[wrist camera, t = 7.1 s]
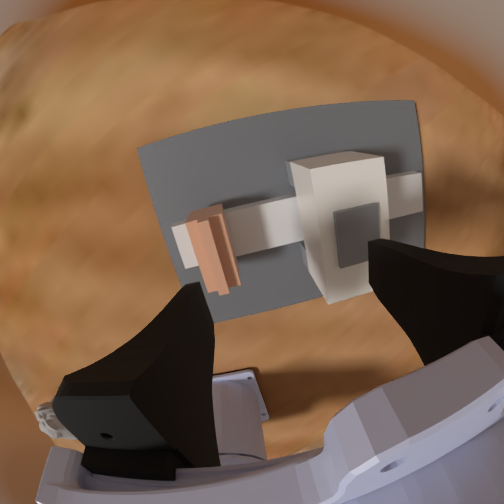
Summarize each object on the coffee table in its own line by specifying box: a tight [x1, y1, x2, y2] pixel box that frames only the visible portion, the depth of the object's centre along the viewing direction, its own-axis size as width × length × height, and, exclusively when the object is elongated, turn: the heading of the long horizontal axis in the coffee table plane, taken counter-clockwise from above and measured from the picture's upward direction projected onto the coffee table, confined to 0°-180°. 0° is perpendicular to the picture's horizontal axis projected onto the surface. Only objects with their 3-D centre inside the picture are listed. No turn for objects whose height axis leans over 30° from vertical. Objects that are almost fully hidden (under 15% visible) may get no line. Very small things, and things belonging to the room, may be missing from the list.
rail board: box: [137, 100, 425, 323], centre depth 19 cm, size 14×20×3 cm
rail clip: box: [185, 203, 241, 296], centre depth 16 cm, size 4×2×3 cm, turn 13°
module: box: [285, 150, 390, 304], centre depth 16 cm, size 8×4×6 cm, turn 13°
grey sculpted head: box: [34, 396, 77, 440], centre depth 23 cm, size 6×7×7 cm
